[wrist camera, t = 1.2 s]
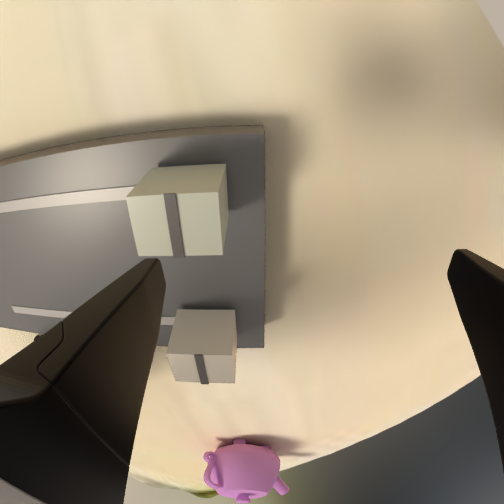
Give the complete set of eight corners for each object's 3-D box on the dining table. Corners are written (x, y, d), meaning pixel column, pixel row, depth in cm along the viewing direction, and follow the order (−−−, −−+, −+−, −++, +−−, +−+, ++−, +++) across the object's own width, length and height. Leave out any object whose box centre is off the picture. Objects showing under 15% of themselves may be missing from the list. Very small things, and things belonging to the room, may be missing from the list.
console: (263, 325, 26) (264, 348, 24) (6, 310, 27) (-5, 326, 24) (262, 125, 18) (264, 133, 15) (-48, 175, 18) (-65, 187, 16)
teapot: (224, 426, 37) (221, 490, 29) (307, 447, 42) (312, 500, 34) (189, 446, 42) (183, 499, 34) (266, 465, 46) (267, 511, 38)
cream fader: (237, 339, 23) (234, 384, 20) (184, 338, 23) (175, 382, 20) (235, 309, 21) (232, 356, 18) (177, 308, 21) (165, 354, 18)
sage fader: (228, 216, 18) (222, 257, 14) (159, 218, 18) (138, 258, 14) (225, 162, 16) (217, 191, 12) (151, 167, 16) (124, 196, 13)
